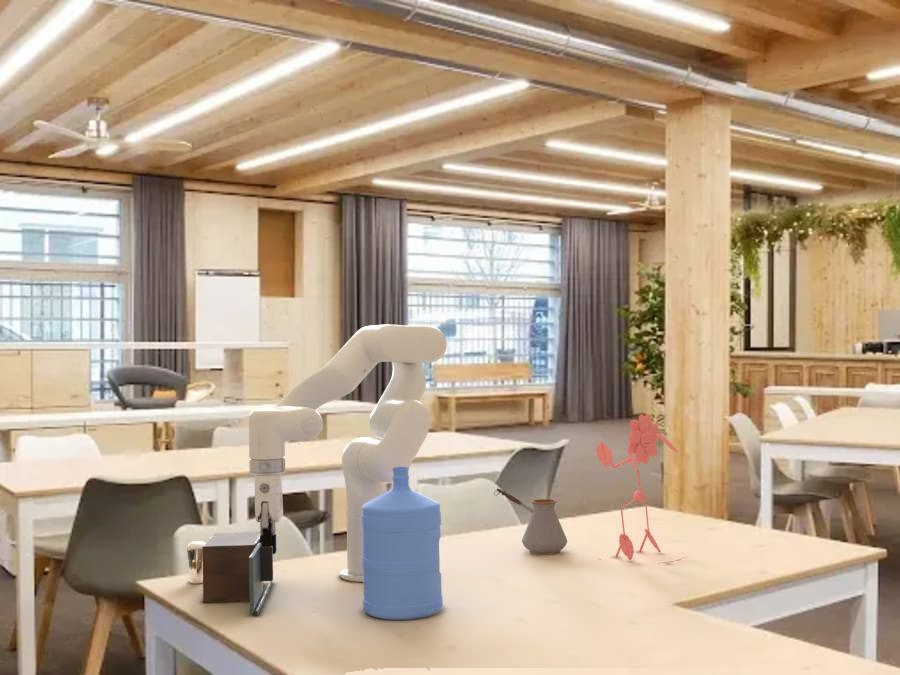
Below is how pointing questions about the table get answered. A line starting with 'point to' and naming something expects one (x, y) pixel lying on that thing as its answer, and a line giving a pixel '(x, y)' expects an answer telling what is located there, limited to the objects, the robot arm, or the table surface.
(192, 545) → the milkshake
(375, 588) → the water jug
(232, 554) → the cabinet
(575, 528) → the table surface
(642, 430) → the figurine
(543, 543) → the coffee pot
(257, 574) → the glass door
